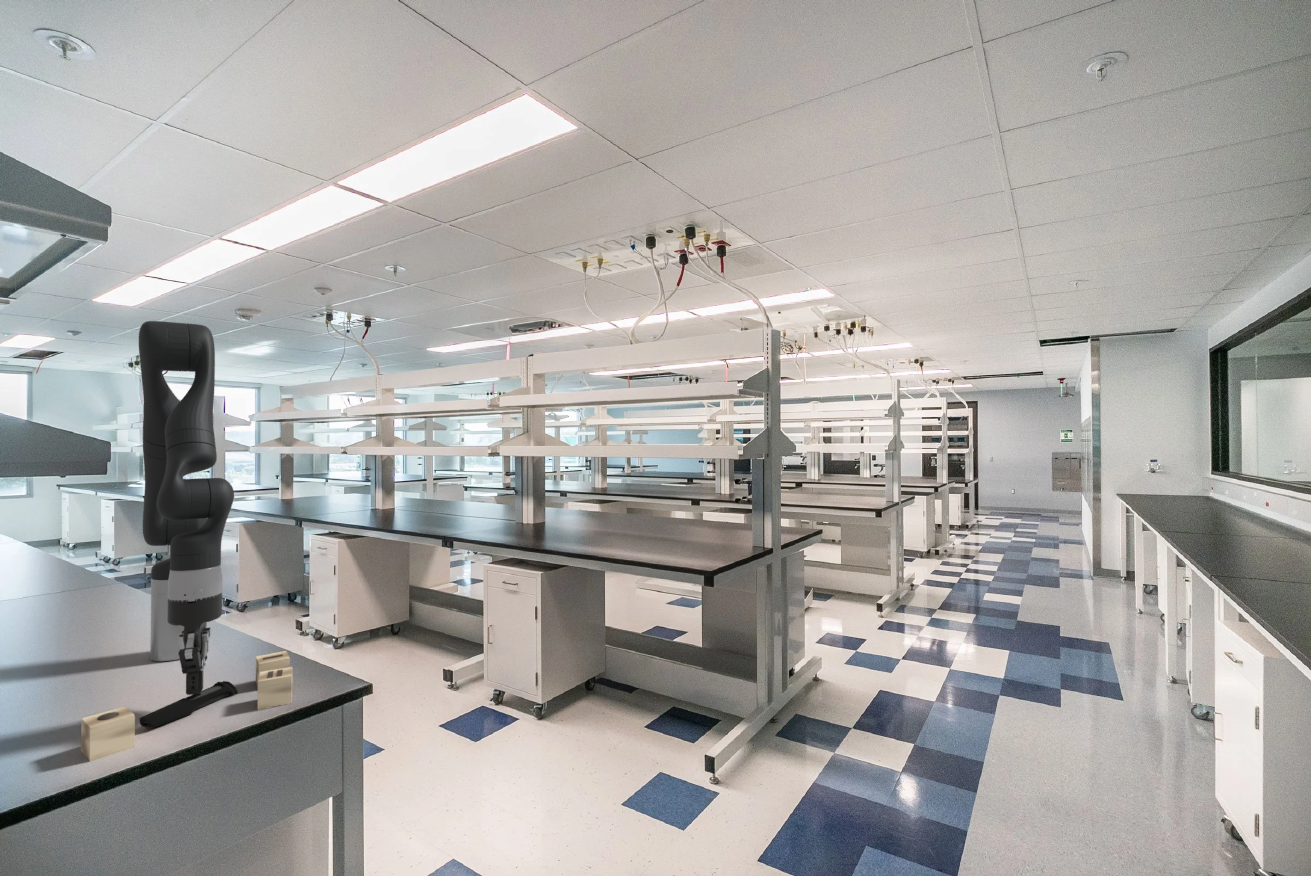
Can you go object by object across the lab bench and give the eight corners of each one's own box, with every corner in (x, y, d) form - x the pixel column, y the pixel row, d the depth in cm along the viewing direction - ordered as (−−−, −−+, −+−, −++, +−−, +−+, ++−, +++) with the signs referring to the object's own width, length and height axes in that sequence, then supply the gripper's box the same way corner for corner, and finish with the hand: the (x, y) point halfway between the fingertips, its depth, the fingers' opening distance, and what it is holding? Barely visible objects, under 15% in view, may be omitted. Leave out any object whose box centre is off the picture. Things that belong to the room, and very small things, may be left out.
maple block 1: (81, 751, 88) (81, 717, 88) (124, 737, 92) (125, 705, 92) (89, 762, 85) (90, 726, 85) (134, 747, 90) (134, 713, 90)
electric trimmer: (132, 734, 94) (132, 714, 94) (223, 692, 110) (222, 676, 109) (150, 737, 94) (150, 717, 94) (239, 695, 109) (239, 678, 109)
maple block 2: (255, 682, 114) (255, 655, 114) (285, 675, 117) (285, 650, 117) (258, 690, 110) (258, 663, 110) (289, 683, 113) (290, 657, 113)
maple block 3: (259, 699, 106) (260, 671, 106) (292, 693, 109) (292, 665, 109) (257, 710, 102) (257, 680, 102) (291, 704, 105) (291, 675, 105)
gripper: (176, 587, 106) (175, 683, 106) (158, 604, 95) (157, 712, 94) (227, 582, 110) (226, 675, 110) (216, 598, 98) (215, 702, 98)
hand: (194, 692), depth 102 cm, fingers closed
